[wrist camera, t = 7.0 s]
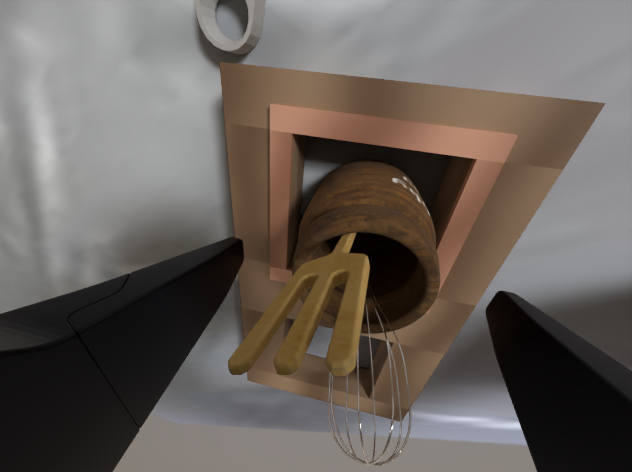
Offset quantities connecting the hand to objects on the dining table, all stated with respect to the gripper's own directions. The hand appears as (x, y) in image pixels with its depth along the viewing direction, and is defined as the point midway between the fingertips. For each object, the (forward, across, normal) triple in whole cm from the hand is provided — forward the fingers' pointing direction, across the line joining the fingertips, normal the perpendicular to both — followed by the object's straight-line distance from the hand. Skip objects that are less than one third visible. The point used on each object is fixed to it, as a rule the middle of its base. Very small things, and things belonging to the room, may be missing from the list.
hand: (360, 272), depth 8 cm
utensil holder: (+7, 0, 0) cm, 7 cm away
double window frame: (+6, 0, +6) cm, 9 cm away
